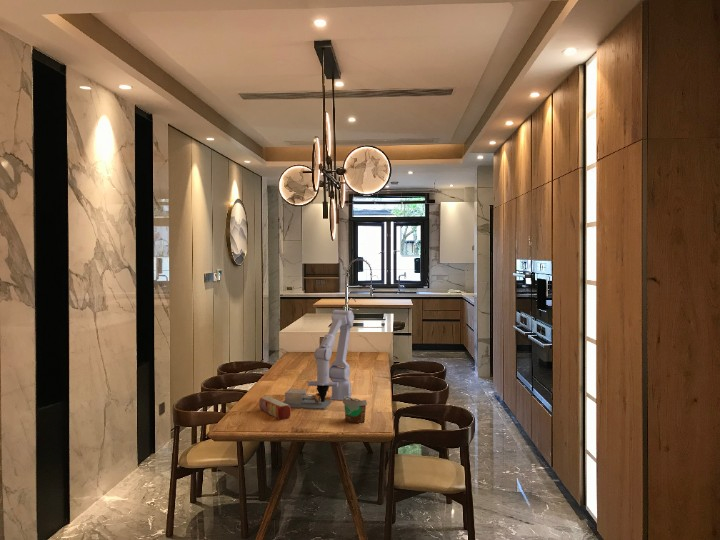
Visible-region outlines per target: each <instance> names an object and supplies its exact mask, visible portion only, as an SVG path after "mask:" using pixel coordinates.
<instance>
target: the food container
mask: <svg viewBox="0 0 720 540" xmlns="http://www.w3.org/2000/svg"><path fill="white" fill-rule="evenodd" d="M342 403H343V405H344V415H345V422H346V423H348V424H351V425H352V424H353V425H354V424H355V425H359V423H361V424H365V423H364V422H366V420H365V419H366V409H367V408H366V406H367V405H368V403H367V399H363V400H360V399H359V398H354V397H353V398H352V397H350V398H349V397H348V395H347V396H345V397H344V399H343V400H342Z"/></svg>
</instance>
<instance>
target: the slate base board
mask: <svg viewBox="0 0 720 540" xmlns="http://www.w3.org/2000/svg"><path fill="white" fill-rule="evenodd" d="M332 401H333V400H332V399H325V401H324V402H321V399H320V402H319V403H316V402H315V400H306V401H305V402H304V403H303V404H302V405H289V404H288V405H289V406H290V408H291V409H299V408H303V409H304V410H305V409H306V410H318V409H321V410H322V411H323V410H326V409H327V408H328V407H329V405H331V404H332ZM282 402H283V403H285V400H284V401H282ZM327 406H328V407H327ZM326 407H327V408H326ZM303 409H302V410H303ZM321 410H320V411H321Z"/></svg>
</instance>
